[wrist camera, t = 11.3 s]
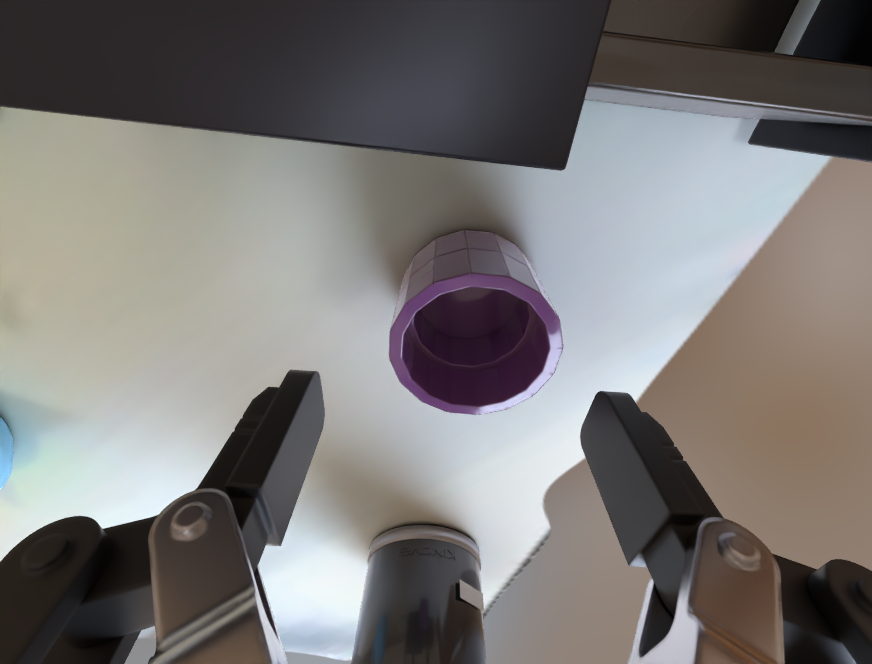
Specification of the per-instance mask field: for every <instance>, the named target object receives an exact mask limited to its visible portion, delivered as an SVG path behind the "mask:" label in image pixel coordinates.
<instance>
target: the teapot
mask: <svg viewBox="0 0 872 664" xmlns="http://www.w3.org/2000/svg"><path fill="white" fill-rule="evenodd" d="M13 445H14V443H13V437H12V434H11V432H10V430H9V428H8V426H7V425H6V423H5V422H4V421H3V419H2V418H1V417H0V489H1V488H2V487H3V486H4V485H5V483H6V481H7V480H8V478H9V476H10V474H11V469H12V462H13V453H14V452H13Z"/></svg>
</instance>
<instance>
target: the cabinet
mask: <svg viewBox="0 0 872 664" xmlns="http://www.w3.org/2000/svg"><path fill="white" fill-rule="evenodd" d="M610 4H611V0H0V107H8V108H17V109H25V110H34V111H43V112H52V113H60V114H69V115H78V116H87V117H96V118H104V119H113V120H122V121H131V122H139V123H148V124H157V125H166V126H174V127H183V128H192V129H201V130H209V131H218V132H227V133H236V134H245V135H253V136H262V137H271V138H280V139H288V140H297V141H306V142H315V143H323V144H332V145H341V146H350V147H359V148H367V149H376V150H385V151H394V152H402V153H411V154H420V155H429V156H437V157H446V158H455V159H464V160H472V161H481V162H490V163H499V164H508V165H516V166H525V167H534V168H543V169H551V170H560V171H561V170H564V169H565V167H566V164H567V161H568V157H569V153H570V150H571V146H572V143H573V139H574V135H575V132H576V128H577V124H578V121H579V117H580V113H581V110H582V106H583V102H584V99H585V95H586V91H587V88H588V84H589V80H590V77H591V73H592V70H593V66H594V62H595V59H596V55H597V51H598V48H599V44H600V40H601V37H602V33H603V29H604V26H605V22H606V18H607V15H608V11H609V7H610Z"/></svg>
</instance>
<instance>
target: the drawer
mask: <svg viewBox="0 0 872 664" xmlns="http://www.w3.org/2000/svg"><path fill="white" fill-rule="evenodd" d="M798 2H799V0H611V4H610V7H609V11H608V15H607V18H606V22H605V26H604V29H603V33H602V37H601V40H600V44H599V48H598V51H597V55H596V59H595V62H594V66H593V70H592V73H591V77H590V80H589V84H588V88H587V91H586V95H585V99H584V100H591V101H599V102H607V103H615V104H624V105H632V106H640V107H648V108H657V109H665V110H673V111H681V112H690V113H698V114H706V115H714V116H723V117H736V118H752V119H760V120H759V122H758V124H757V126H756V128H755V130H754V131H753V133H752V135H751V137H750V139H749V141H748V143H749V144H750V145H757V146H764V147H771V148H778V149H784V150H791V151H798V152H805V153H812V154H819V155H825V156H832V157H839V158H846V159H853V160H860V161H866V162H872V0H821V1H820V2H819V4H818V6H817V8H816V10H815V12H814V14H813V16H812V18H811V20H810V22H809V24H808V26H807V28H806V30H805V32H804V34H803V36H802V38H801V40H800V42H799V44H798V45H797V47H796V49H795V51H794V53H793V55H787V54H779V53H774V51H775V49H776V47H777V45H778V43H779V41H780V39H781V36H782V34H783V32H784V30H785V28H786V26H787V24H788V22H789V20H790V18H791V16H792V14H793V12H794V10H795V8H796V6H797V4H798Z"/></svg>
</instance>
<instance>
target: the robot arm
mask: <svg viewBox="0 0 872 664" xmlns="http://www.w3.org/2000/svg"><path fill="white" fill-rule="evenodd" d="M324 417H325V409H324V402H323V394H322V387H321V380H320V375H319V373H318V372H317V371H302V370H290V371H289V372H288V373H287V374H286V376H285V378H284V380H283V382H282V383H281V385H280V387H279V388H277V387H268V388H267V389H265V390H264V391H263V392H262V393H261V394H259V395H258V396H257V397H256V398H254V399H253V400H252V402H251V403H250V405H249V407H248V408H247V410H246V411H245V413H244V415H243V418H242V419H240V421H239V423H238V424H237V426H236V427H235V431H234V432H232V434H231V435H230V437H229V439H228V440H227V442H226V443H225V445H224V447H223V448H222V450H221V451H220V453H219V455H218V456H217V458H216V459H215V461H214V463H213V464H212V466H211V467H210V469H209V471H208V472H207V474H206V475H205V477H204V479H203V480H202V482H201V483H200V485H199V486H198V488H197V489H196V490H195V491H192V492H189V493H187V494H185V495H183V496H181V497H179V498H178V499H176V500H174V501H173V502H172V503H170V504H169V505H168V506H167V507H166V508H165V509H164V510H163V511H162V512H161V513H160V514H159V515H157V516H154V517H150V518H147V519H143V520H138V521H134V522H130V523H126V524H122V525H117V526H113V527H109V528H105V529H102V528H101V527H100V525H99V524H98V523H97V522H96V521H95V520H94V519H92V518H89V517H85V516H74V517H69V518H64V519H61V520H58V521H55V522H53V523H50V524H48V525H46V526H44V527H42V528H40V529H38V530H37V531H35V532H34V533H32V534H30V535H29V536H28V537H26V538H25V539H24V540H22V541H21V542H20V543H19V544H17V545H16V546H15V547H14V548H13V549H12V550H11V551H10V552H9V553H8V554H7V555H6V556H5V557H4V558H3V560H2V561H1V562H0V664H124V663H125V661H126V659H127V657H128V655H129V653H130V651H131V649H132V647H133V645H134V643H135V641H136V639H137V638H138V636H139V634H140V632H141V630H143V629H146V628H150V627H153V626H155V630H156V652H155V655H154V656H153V657H151V658H150V660H149V662H148V664H289V663H288V661H287V658H286V655H285V652H284V649H283V646H282V643H281V640H280V637H279V633H278V630H277V626H276V623H275V620H274V616H273V613H272V610H271V606H270V603H269V600H268V596H267V593H266V590H265V586H264V583H263V580H262V576H261V573H260V569H259V566H258V563H259V561H260V558H261V556H262V553H263V551H264V548H265V545H272V546H281V544H282V541H283V538H284V535H285V532H286V530H287V527H288V524H289V521H290V519H291V516H292V513H293V510H294V507H295V505H296V502H297V499H298V496H299V494H300V491H301V488H302V485H303V482H304V480H305V477H306V474H307V471H308V468H309V466H310V463H311V460H312V457H313V455H314V452H315V449H316V446H317V443H318V441H319V438H320V435H321V432H322V429H323V425H324ZM580 438H581V445H582V449H583V451H584V454H585V457H586V459H587V462H588V464H589V466H590V469H591V472H592V474H593V477H594V479H595V482H596V484H597V487H598V489H599V492H600V494H601V497H602V500H603V502H604V505H605V507H606V510H607V512H608V514H609V517H610V520H611V522H612V525H613V527H614V530H615V532H616V535H617V537H618V540H619V543H620V545H621V547H622V550H623V552H624V555H625V558H626V560H627V563H628V565H629V566H636V567H648V570H649V572H650V574H651V576H652V578H651V579H650V581H649V582H648V585H647V588H646V593H645V597H644V600H643V605H642V609H641V613H640V617H639V621H638V625H637V630H636V633H635V637H634V641H633V646H632V650H631V654H630V657H629V660H628V663H627V664H872V571H870V570H868V569H867V568H865V567H863V566H861V565H858V564H856V563H853V562H850V561H847V560H842V559H835V560H831V561H829V562H827V563H826V564H825V565H823V566H822V567H820V568H819V569H814V568H811V567H808V566H806V565H803V564H800V563H797V562H794V561H792V560H788V559H786V558H783V557H780V556H777V555H775V554H772V553H771V552H770V550H769V549H768V548H767V547H766V546H765V544H763V542H762V541H761V540H760V539H759V538H757V537H756V536H755V535H754V534H753V533H751V532H750V531H749V530H747V529H746V528H744V527H742V526H741V525H739V524H737V523H735V522H733V521H730V520H727V519H724V518H723V517H722V515H721V514H720V512H719V511H718V509H717V508H716V506H715V505H714V503H713V502H712V500H711V499H710V497H709V496H708V494H707V493H706V491H705V490H704V488H703V486H702V485H701V483H700V482H699V480H698V479H697V478H696V476H695V474H694V473H693V471H692V470H691V469H690V467H689V465H688V464H687V463H686V461H683V456H682V455H681V453H680V452H679V450H678V449H677V447H674V443H673V441H672V440H671V438H670V437H669V435H668V434H667V432H666V431H665V429H664V428H663V427H662V426H661V425H660V424H659V423H658V422H657V421H655V420H654V419H653V418H652V417H651V416H650V415H649V414H648V413H647V412H641V411H640V409H639V408H638V406H637V405H636V403H635V401H634V400H633V398H632V397H631V396H630V395H629V394H628V393H621V392H605V391H600V392H598V393H597V394H596V396H595V398H594V400H593V402H592V405H591V407H590V409H589V411H588V414H587V416H586V418H585V421H584V423H583V425H582V428H581V435H580ZM367 566H368V568H367V574H366V580H365V586H364V592H363V598H362V602H361V608H360V614H359V620H358V626H357V632H356V638H355V644H354V650H353V656H352V663H351V664H486V653H485V639H484V625H483V611H484V607H483V593H481V582H480V570H481V563H480V552H479V549H478V547H477V545H476V544H475V543H474V542H473V541H472V540H471V539H470V538H468V537H467V536H465V535H463V534H462V533H459V532H457V531H454V530H451V529H448V528H444V527H438V526H430V525H411V526H404V527H399V528H395V529H392V530H389V531H386V532H384V533H382V534H381V535H379V536H378V537H377V538H375V539H374V541H373V542H372V543H371V545H370V549H369V555H368V561H367Z"/></svg>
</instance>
